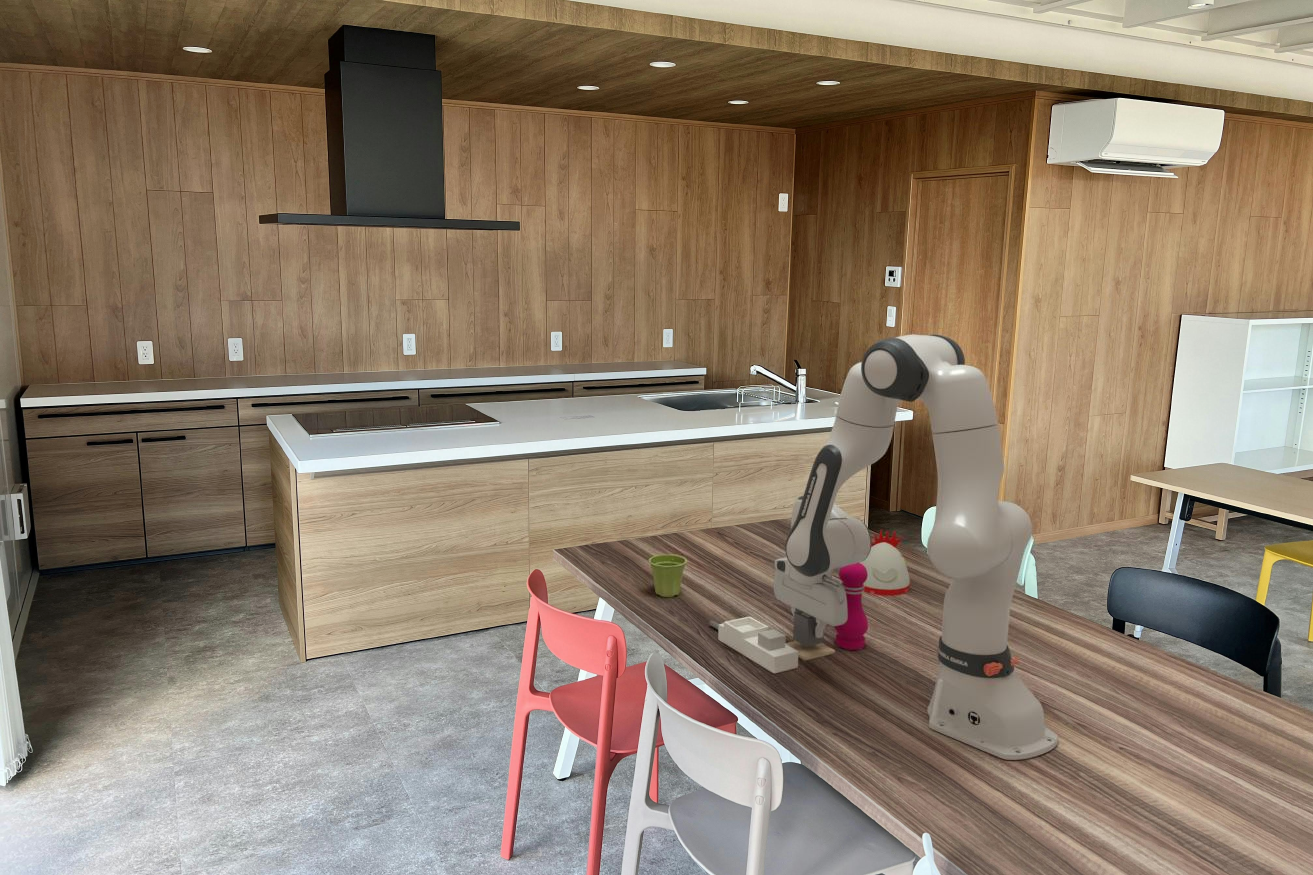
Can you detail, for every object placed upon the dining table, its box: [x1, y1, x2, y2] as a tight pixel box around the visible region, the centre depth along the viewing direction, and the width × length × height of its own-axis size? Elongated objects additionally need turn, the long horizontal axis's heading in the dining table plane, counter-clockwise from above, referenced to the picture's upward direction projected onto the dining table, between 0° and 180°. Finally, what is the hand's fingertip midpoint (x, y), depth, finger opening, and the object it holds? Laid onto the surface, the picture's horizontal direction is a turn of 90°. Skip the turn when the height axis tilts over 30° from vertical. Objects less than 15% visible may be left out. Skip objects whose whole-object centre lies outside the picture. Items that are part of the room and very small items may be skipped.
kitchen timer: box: [859, 529, 911, 597], centre depth 235 cm, size 14×14×15 cm
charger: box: [792, 611, 825, 647], centre depth 195 cm, size 4×4×6 cm
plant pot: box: [648, 554, 688, 598], centre depth 229 cm, size 9×9×9 cm
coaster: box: [785, 640, 836, 661], centre depth 195 cm, size 8×8×1 cm
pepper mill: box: [833, 563, 869, 651], centre depth 197 cm, size 7×7×20 cm
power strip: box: [709, 616, 799, 674], centre depth 196 cm, size 28×7×6 cm, turn 30°
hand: (808, 631), depth 195 cm, fingers closed on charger, 4 cm apart
